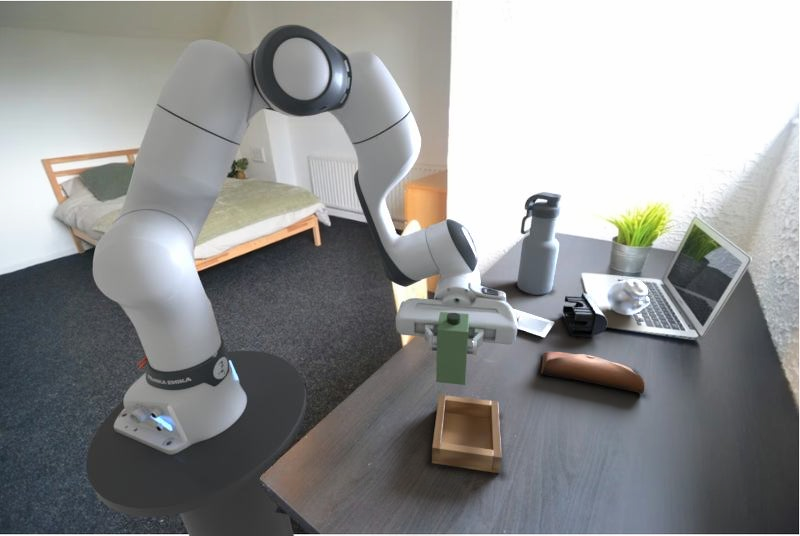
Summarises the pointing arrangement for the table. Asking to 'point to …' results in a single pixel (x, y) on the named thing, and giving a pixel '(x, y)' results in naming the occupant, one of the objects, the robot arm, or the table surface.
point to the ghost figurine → (628, 297)
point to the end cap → (584, 316)
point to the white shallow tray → (532, 323)
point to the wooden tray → (467, 434)
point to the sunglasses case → (591, 370)
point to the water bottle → (539, 245)
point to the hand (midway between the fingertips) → (452, 349)
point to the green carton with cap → (452, 347)
